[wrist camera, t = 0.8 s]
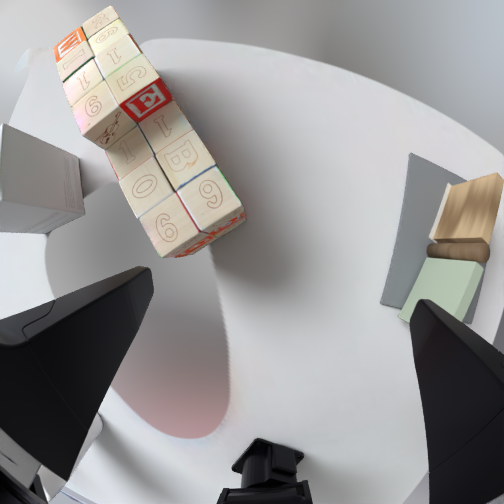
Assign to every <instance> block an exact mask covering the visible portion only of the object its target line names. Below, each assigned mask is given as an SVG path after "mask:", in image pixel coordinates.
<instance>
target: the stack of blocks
mask: <svg viewBox="0 0 504 504" xmlns="http://www.w3.org/2000/svg"><path fill="white" fill-rule="evenodd" d="M53 51H54V54H55V58H56V62H57V65H56V66H57V69H58V72H59V75H60V78H61V81H62V82H63V83H64V84H63V89H64V92H65V94H66V97H67V100H68V103H69V105H70V107H71V108H72V112H73V114H74V117H75V119H76V122H77V125H78V127H79V129H80V132H81V134H82V136H83V137H85V138H87V139H88V140H90V141H92V142H93V143H95V144H96V145H98V146H99V147H101V148H102V149H104V150H105V152H106V154H107V157H108V159H109V161H110V163H111V165H112V167H113V169H114V171H115V174H116V176H117V178H118V180H119V184H120V187H121V189H122V191H123V192H124V195H125V197H126V199H127V201H128V203H129V205H130V206H131V208H132V210H133V212H134V214H135V216H136V218H137V219H139V220H140V222H141V224H142V226H143V228H144V229H145V231H146V233H147V235H148V237H149V239H150V240H151V242H152V244H153V246H154V247H155V249H156V251H157V253H158V254H159V256H160V257H161V258H167V257H175V258H177V257H183V256H187V255H193V254H194V253H196V252H198V251H199V250H201V249H202V248H204V247H205V246H207V245H208V244H210V243H212V242H213V241H215V240H216V239H218V238H219V237H221V236H223V235H225V234H226V233H228V232H230V231H231V230H233V229H234V228H236V227H237V226H239V225H240V224H242V223H243V222H245V221H246V217H245V214H244V211H245V210H244V207H243V205H242V203H241V202H240V200H239V198H238V197H237V195H236V194H235V192H234V191H233V189H232V188H231V186H230V185H229V183H228V182H227V180H226V178H225V177H224V175H223V174H222V172H221V171H220V169H219V168H218V166H217V164H216V162H215V161H214V159H213V157H212V156H211V154H210V153H209V151H208V150H207V148H206V147H205V145H204V144H203V142H202V141H201V139H200V138H199V136H198V135H197V133H196V132H195V130H194V129H193V127H192V125H191V124H190V123H189V121H188V119H187V118H186V116H185V115H184V114H183V112H182V111H181V109H180V108H179V106H178V105H177V104H176V102H175V101H174V99H173V97H172V95H171V94H170V92H169V90H168V89H167V87H166V86H165V84H164V82H163V81H162V79H161V77H160V76H159V75H158V73H157V72H156V70H155V69H154V68H153V66H152V65H151V63H150V62H149V61H148V59H147V58H146V57H145V55H144V54H143V52H142V51H141V49H140V48H139V46H138V45H137V43H136V42H135V40H134V39H133V37H132V35H131V34H130V33H129V31H128V30H127V28H126V27H125V25H124V24H123V22H122V21H121V19H120V17H119V16H118V14H117V13H116V11H115V10H114V9H113V7H112V6H109V7H107V8H106V9H104V10H103V11H101V12H99V13H98V14H97V15H95V16H94V17H92V18H91V19H89V20H88V21H86V22H85V23H83V24H82V27H78V28H77V29H75V30H74V31H73V32H72V33H70V34H69V35H68V36H67V37H65V38H64V39H63V40H62V41H61V42H60V43H58V44H57V45H56V46H55V47H54V48H53Z"/></svg>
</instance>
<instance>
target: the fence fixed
mask: <svg viewBox="0 0 504 504" xmlns="http://www.w3.org/2000/svg"><path fill="white" fill-rule="evenodd" d="M503 183H504V180H503V179H502V177H501V176H500V175H499V174H498V173H493V174H490V175H487V176H483V177H480V178H477V179H473V180H470V181H467V182H463V183H460V184H457V185H453V186H451V188H450V191H449V194H448V197H447V200H446V203H445V206H444V209H443V212H442V215H441V218H440V221H439V223H438V226H437V229H436V232H435V234H434V237H433V239H434V240H435V241H436V242H437V243H431V244H429V245H428V246H427V250H426V252H427V255H428V257H429V258H437V259H449V260H461V261H473V262H478V263H486V262H487V261H488V259H489V257H490V249H489V246H488V245H489V242H490V239H491V235H492V232H493V228H494V225H495V221H496V217H497V212H498V208H499V204H500V199H501V194H502V189H503Z"/></svg>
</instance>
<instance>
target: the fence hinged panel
mask: <svg viewBox="0 0 504 504" xmlns="http://www.w3.org/2000/svg"><path fill="white" fill-rule="evenodd" d="M483 270H484V268H483V267H482V266H480V265H479V264H478V263H477V262H473V261H461V260H449V259H437V258H426V260H425V262H424V264H423V267H422V269H421V271H420V273H419V276H418V278H417V280H416V282H415V284H414V286H413V288H412V290H411V292H410V294H409V296H408V298H407V300H406V302H405V304H404V306H403V308H402V310H401V312H400V314H399V316H398V317H399V318H400V319H402V320H404V321H406V322H408V323H409V322H410V318H411V315H412V313H413V311H414V308H415V306H416V304H417V301H418V300H419V299H430V300H432V301H433V302H434V303H436V304H437V305H439V306H440V307H441V308H443V309H444V310H446V311H447V312H448V313H450V314H451V315H453V316H454V317H455V318H457V319H458V320H459V321H461V322H462V321H463V318H464V316H465V314H466V312H467V310H468V307H469V305H470V303H471V301H472V298H473V296H474V293H475V291H476V288H477V286H478V283H479V281H480V278H481V275H482V273H483Z"/></svg>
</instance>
